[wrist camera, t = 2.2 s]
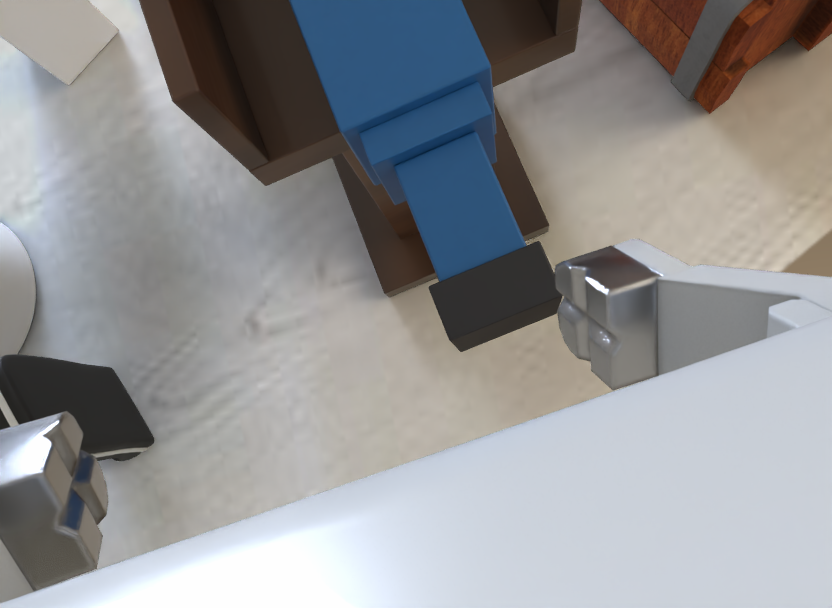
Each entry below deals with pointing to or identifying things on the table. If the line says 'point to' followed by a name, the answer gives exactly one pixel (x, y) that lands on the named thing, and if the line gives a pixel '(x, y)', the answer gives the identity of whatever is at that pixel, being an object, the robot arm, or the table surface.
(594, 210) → the table surface
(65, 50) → the milk
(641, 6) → the milk bottle holder
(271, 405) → the table surface
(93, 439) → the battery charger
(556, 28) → the wooden pedestal stand
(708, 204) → the table surface
